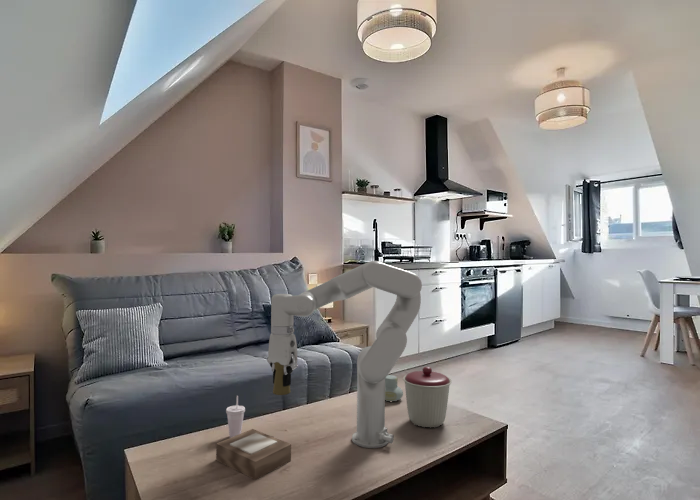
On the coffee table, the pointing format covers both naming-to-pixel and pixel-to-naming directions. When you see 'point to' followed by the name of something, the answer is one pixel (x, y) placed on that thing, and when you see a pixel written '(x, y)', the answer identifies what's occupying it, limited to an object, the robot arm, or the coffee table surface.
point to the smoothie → (235, 419)
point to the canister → (427, 397)
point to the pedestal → (253, 453)
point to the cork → (280, 381)
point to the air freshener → (392, 389)
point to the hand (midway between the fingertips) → (281, 383)
